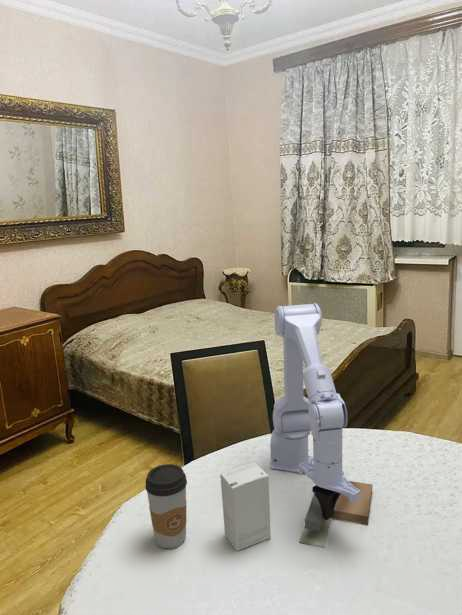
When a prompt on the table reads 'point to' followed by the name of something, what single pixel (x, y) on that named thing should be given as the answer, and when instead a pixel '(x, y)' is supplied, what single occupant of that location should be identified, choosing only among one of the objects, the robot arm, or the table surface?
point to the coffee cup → (167, 504)
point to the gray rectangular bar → (314, 515)
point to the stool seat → (342, 515)
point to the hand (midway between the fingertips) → (328, 517)
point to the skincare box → (246, 505)
